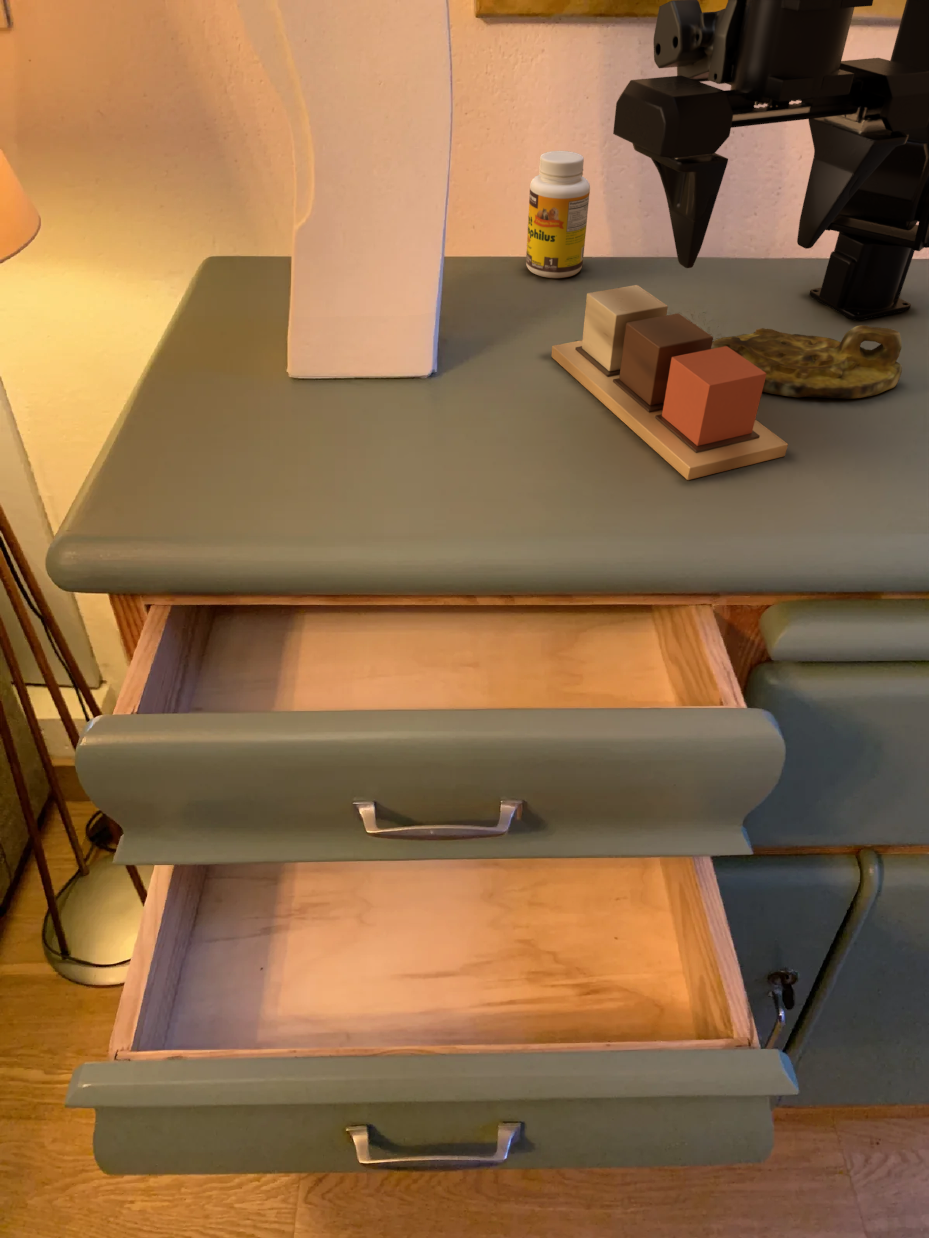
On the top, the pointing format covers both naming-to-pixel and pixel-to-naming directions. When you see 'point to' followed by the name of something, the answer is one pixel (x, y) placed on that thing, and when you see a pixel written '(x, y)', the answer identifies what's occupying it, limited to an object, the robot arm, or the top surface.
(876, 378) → the olive brown carved pendant
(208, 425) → the top surface
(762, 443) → the word board
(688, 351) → the dark brown cube
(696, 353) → the orange-red cube
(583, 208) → the supplement bottle
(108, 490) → the top surface
